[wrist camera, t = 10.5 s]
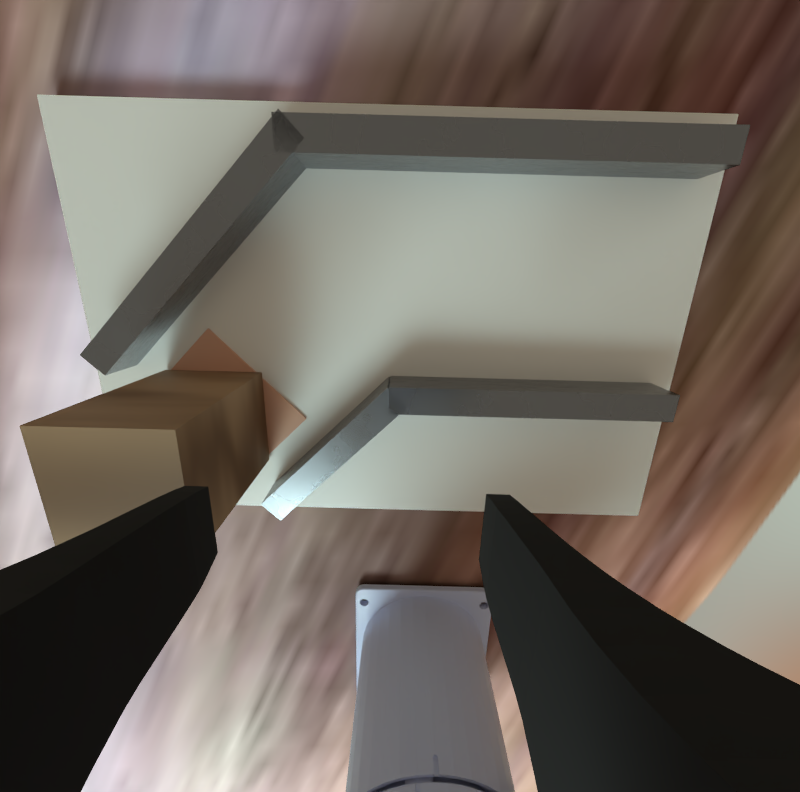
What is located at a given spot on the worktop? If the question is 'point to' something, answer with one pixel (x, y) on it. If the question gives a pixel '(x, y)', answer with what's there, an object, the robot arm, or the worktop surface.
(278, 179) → the rails
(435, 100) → the worktop surface
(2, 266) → the worktop surface
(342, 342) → the channel board
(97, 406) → the walnut block
